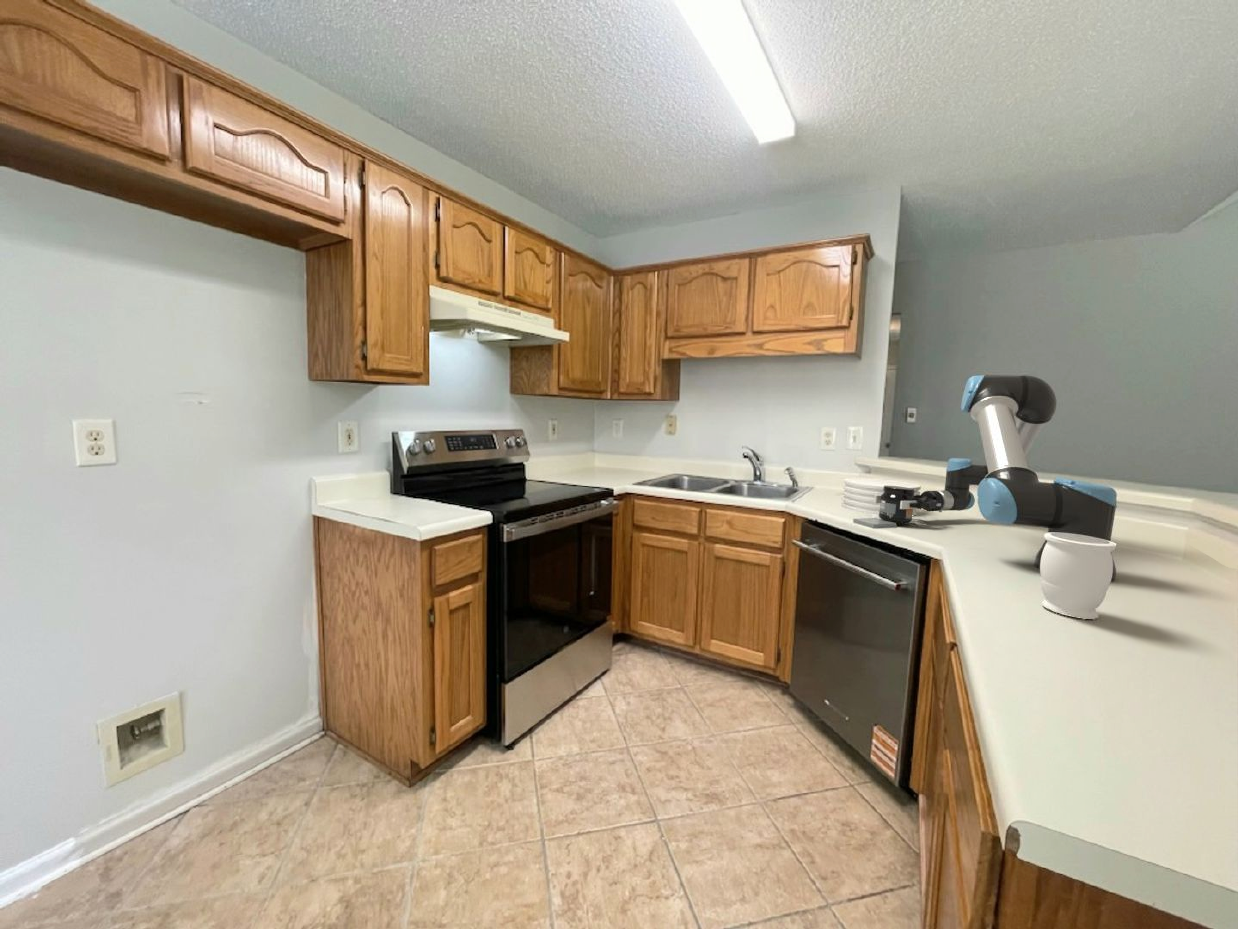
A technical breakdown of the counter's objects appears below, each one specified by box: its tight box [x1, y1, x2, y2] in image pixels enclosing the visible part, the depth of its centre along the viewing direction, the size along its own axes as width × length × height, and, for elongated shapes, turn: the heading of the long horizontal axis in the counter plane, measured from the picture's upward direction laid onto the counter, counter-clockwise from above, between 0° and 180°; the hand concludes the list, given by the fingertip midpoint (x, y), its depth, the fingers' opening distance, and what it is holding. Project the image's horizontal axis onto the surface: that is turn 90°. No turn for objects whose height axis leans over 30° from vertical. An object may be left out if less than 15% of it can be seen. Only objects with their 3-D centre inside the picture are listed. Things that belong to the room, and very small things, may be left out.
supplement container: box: [878, 486, 915, 524], centre depth 174 cm, size 10×10×12 cm
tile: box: [852, 517, 897, 529], centre depth 172 cm, size 2×9×10 cm
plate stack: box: [841, 477, 921, 516], centre depth 203 cm, size 28×28×12 cm
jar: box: [1039, 532, 1117, 620], centre depth 96 cm, size 11×10×15 cm
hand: (887, 502), depth 173 cm, fingers closed on supplement container, 10 cm apart
